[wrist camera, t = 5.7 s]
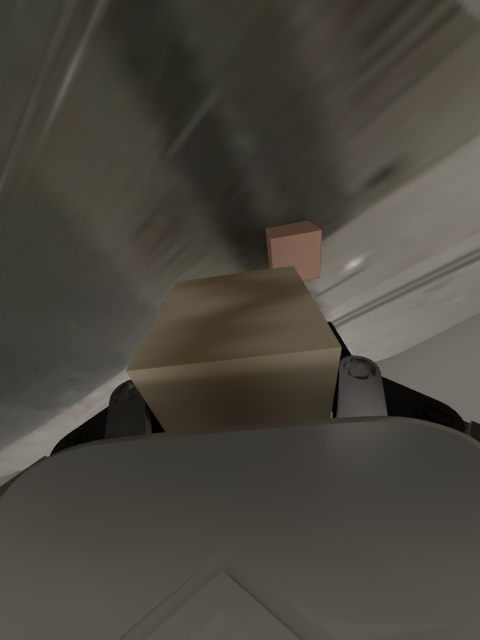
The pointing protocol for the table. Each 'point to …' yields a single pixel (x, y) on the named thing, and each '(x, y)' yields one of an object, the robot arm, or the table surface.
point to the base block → (238, 353)
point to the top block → (295, 248)
